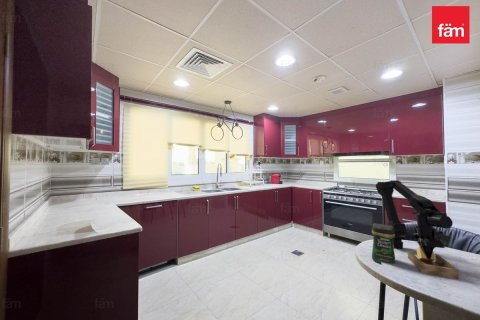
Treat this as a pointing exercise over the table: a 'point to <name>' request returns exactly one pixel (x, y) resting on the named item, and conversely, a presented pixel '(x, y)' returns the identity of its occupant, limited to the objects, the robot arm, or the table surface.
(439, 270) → the walnut cubby
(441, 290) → the table surface
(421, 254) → the ochre cube
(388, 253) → the coffee jar
